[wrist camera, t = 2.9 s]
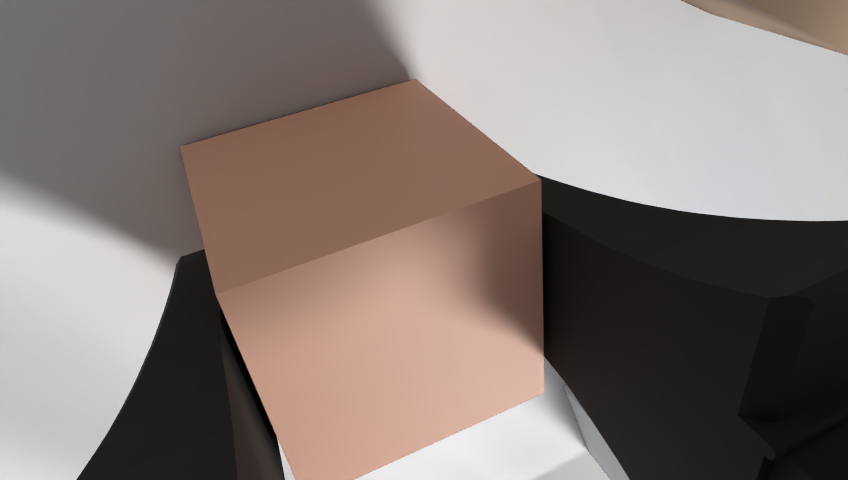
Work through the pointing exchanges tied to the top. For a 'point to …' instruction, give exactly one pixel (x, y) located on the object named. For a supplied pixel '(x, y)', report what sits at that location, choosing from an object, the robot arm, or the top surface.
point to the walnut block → (789, 18)
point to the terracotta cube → (374, 274)
